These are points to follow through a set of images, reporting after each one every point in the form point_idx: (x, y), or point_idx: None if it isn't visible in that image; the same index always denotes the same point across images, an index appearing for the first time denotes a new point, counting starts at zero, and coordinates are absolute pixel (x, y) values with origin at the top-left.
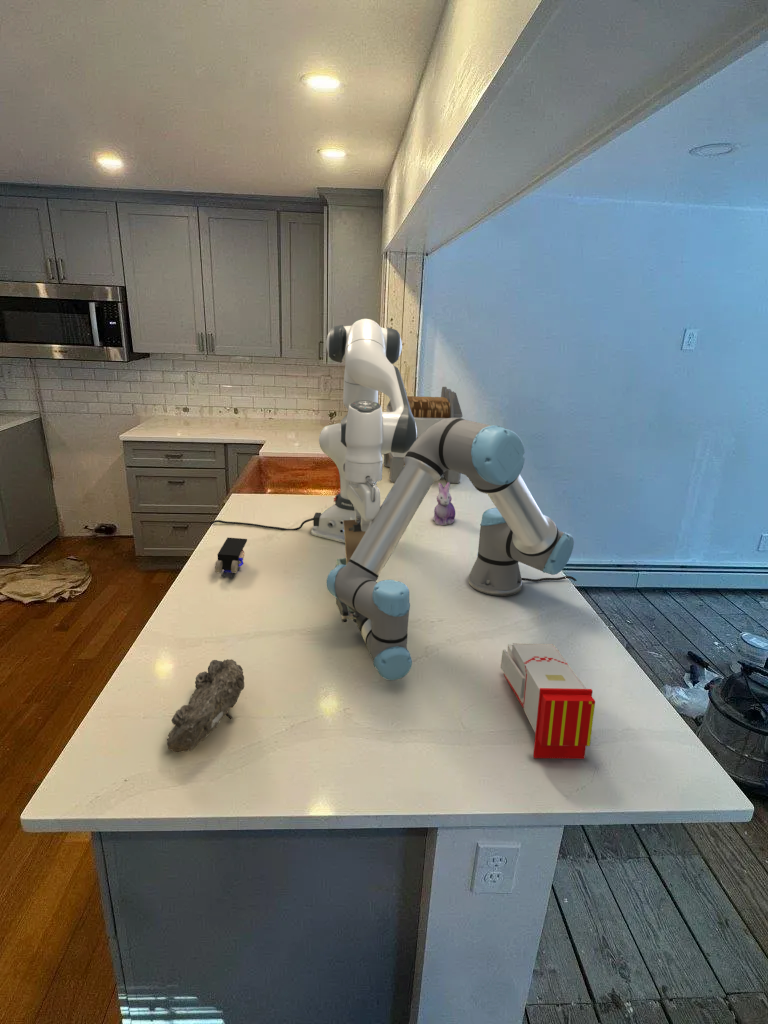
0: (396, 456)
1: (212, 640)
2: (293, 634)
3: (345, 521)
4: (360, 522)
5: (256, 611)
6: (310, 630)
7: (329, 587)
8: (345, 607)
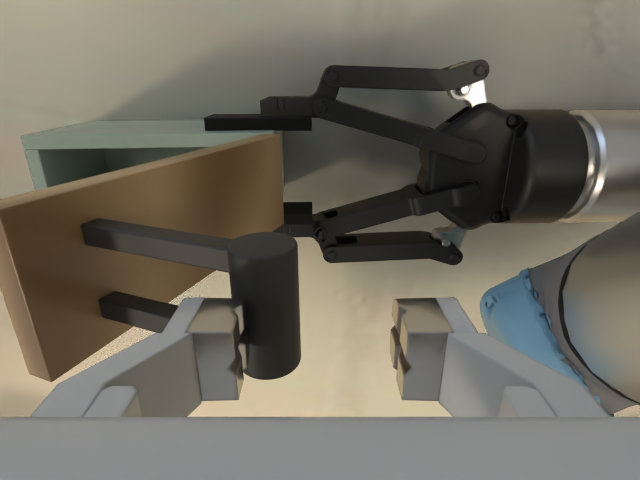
0: None
1: None
2: (369, 334)
3: (58, 367)
4: (240, 329)
5: (243, 401)
6: (360, 296)
7: None
8: (426, 249)
